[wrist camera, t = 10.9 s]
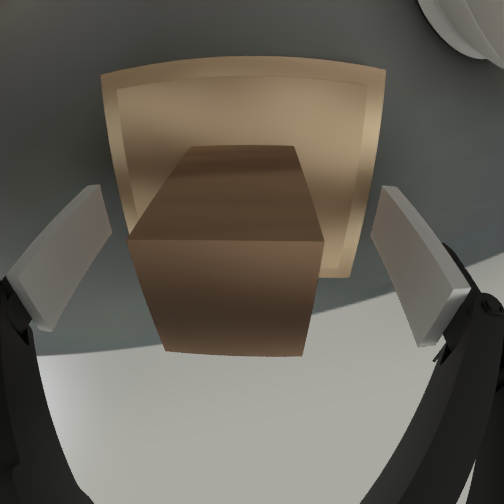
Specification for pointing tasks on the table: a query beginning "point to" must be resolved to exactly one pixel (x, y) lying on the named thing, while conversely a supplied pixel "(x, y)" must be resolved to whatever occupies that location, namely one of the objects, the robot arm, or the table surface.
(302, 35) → the table surface
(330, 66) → the base
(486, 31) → the jar
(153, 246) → the block
